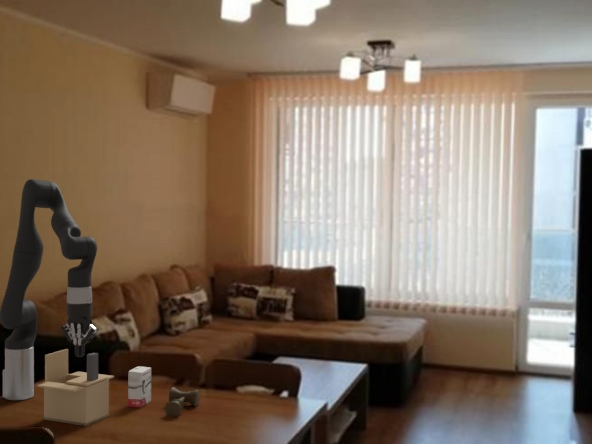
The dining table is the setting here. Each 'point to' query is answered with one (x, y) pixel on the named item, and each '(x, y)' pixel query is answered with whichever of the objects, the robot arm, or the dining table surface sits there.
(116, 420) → the dining table surface
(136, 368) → the ink box
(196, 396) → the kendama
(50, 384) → the carton
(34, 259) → the robot arm
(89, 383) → the flap
